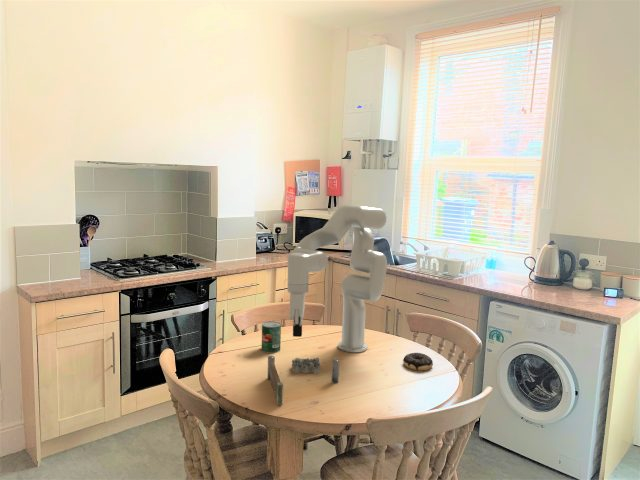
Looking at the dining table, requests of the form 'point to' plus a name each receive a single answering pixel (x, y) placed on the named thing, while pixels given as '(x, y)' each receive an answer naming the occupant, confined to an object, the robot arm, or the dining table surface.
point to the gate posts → (334, 368)
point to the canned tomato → (271, 336)
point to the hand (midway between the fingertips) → (297, 335)
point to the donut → (418, 361)
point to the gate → (276, 383)
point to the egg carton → (301, 364)
